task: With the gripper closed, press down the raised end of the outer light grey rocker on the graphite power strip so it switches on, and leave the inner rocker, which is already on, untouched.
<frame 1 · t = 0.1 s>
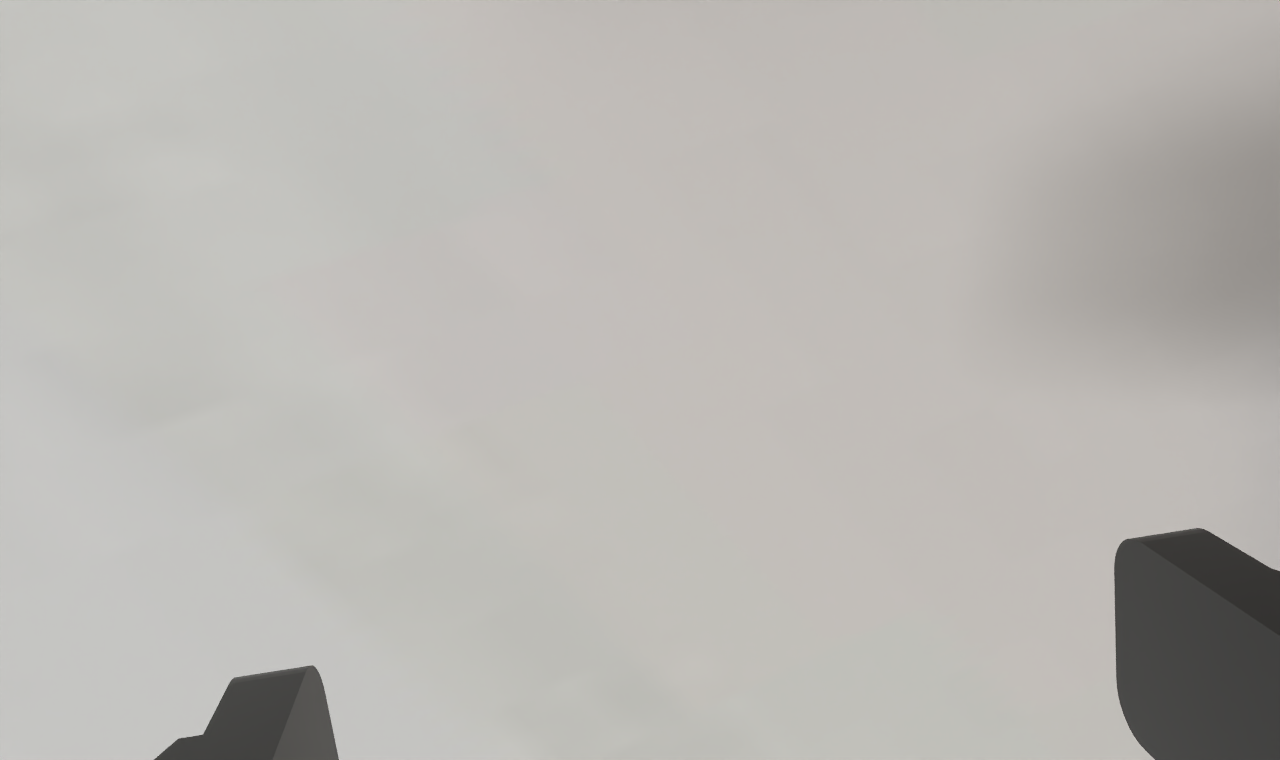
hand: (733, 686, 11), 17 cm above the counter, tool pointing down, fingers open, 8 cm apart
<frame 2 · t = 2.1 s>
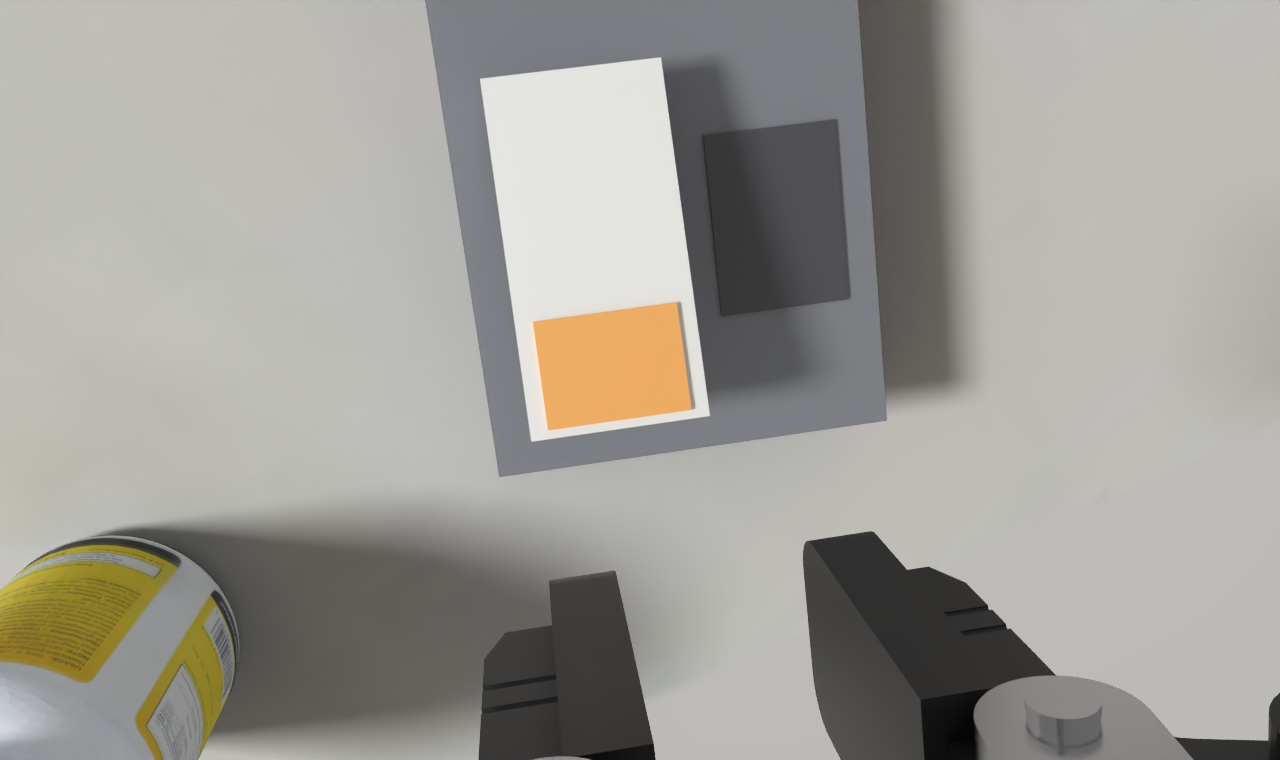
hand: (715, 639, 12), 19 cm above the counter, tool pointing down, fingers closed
pill bottle: (129, 634, 31), on the counter
rocker outer: (595, 251, 25), point 5 cm above the counter, hinge at -12.0°
power strip: (632, 8, 29), on the counter
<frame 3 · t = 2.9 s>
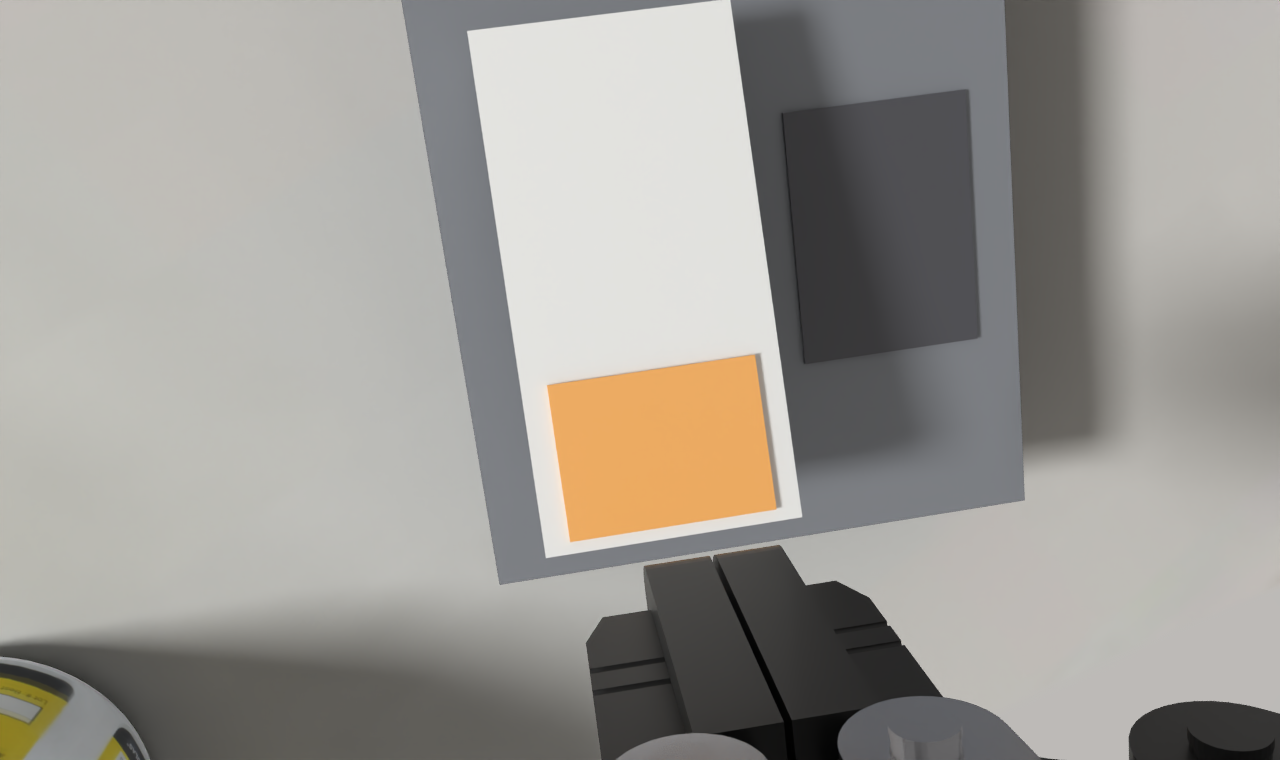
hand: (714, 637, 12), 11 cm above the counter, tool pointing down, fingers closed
rocker outer: (635, 280, 18), point 5 cm above the counter, hinge at -12.0°
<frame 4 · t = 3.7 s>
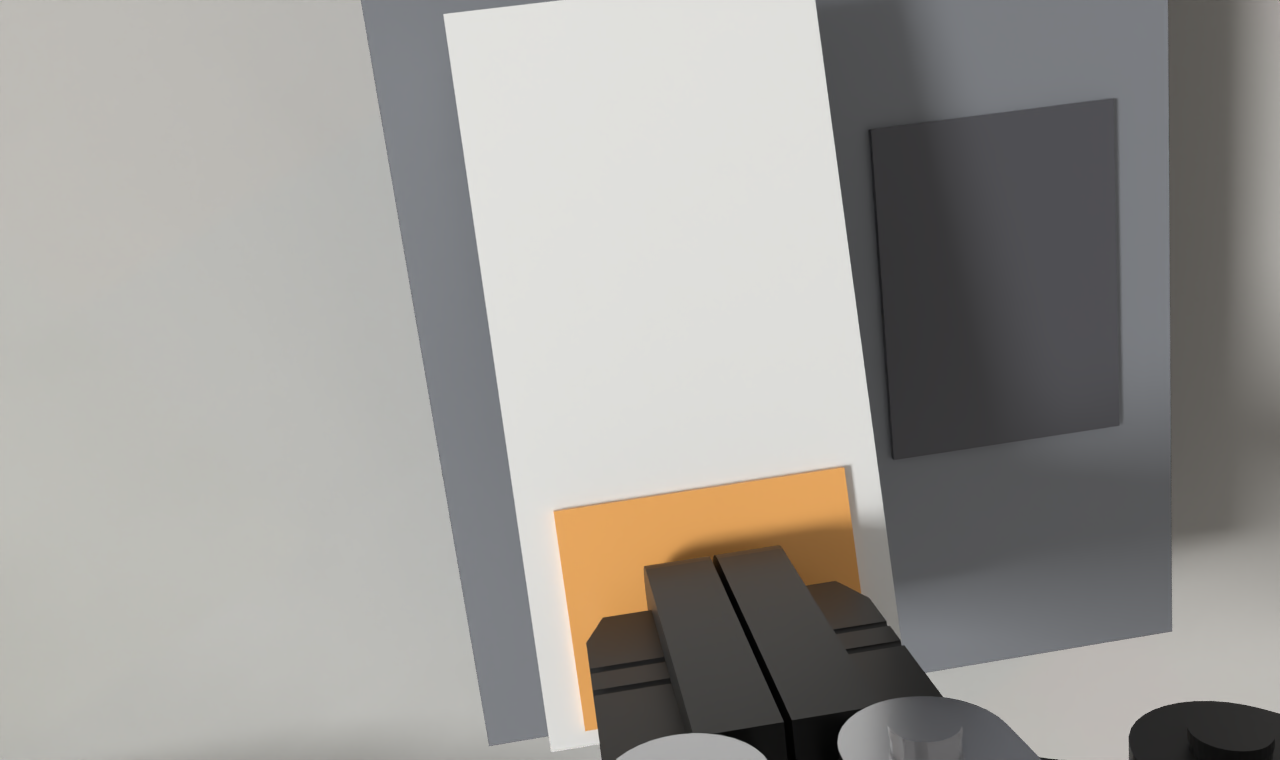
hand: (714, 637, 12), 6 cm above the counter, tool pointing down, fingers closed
rocker outer: (675, 360, 13), point 5 cm above the counter, hinge at -12.0°, touching gripper
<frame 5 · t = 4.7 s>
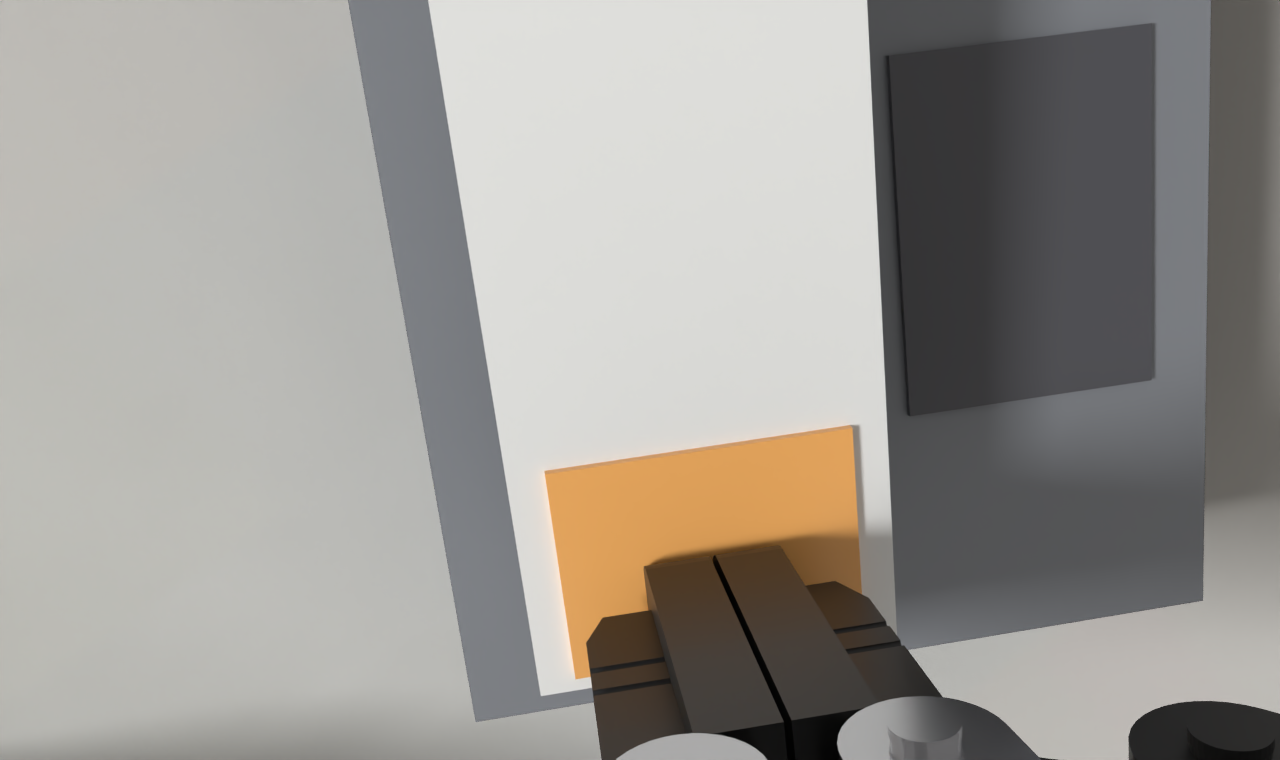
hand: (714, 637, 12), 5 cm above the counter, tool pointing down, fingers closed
rocker outer: (676, 304, 12), point 5 cm above the counter, hinge at 3.0°, touching gripper
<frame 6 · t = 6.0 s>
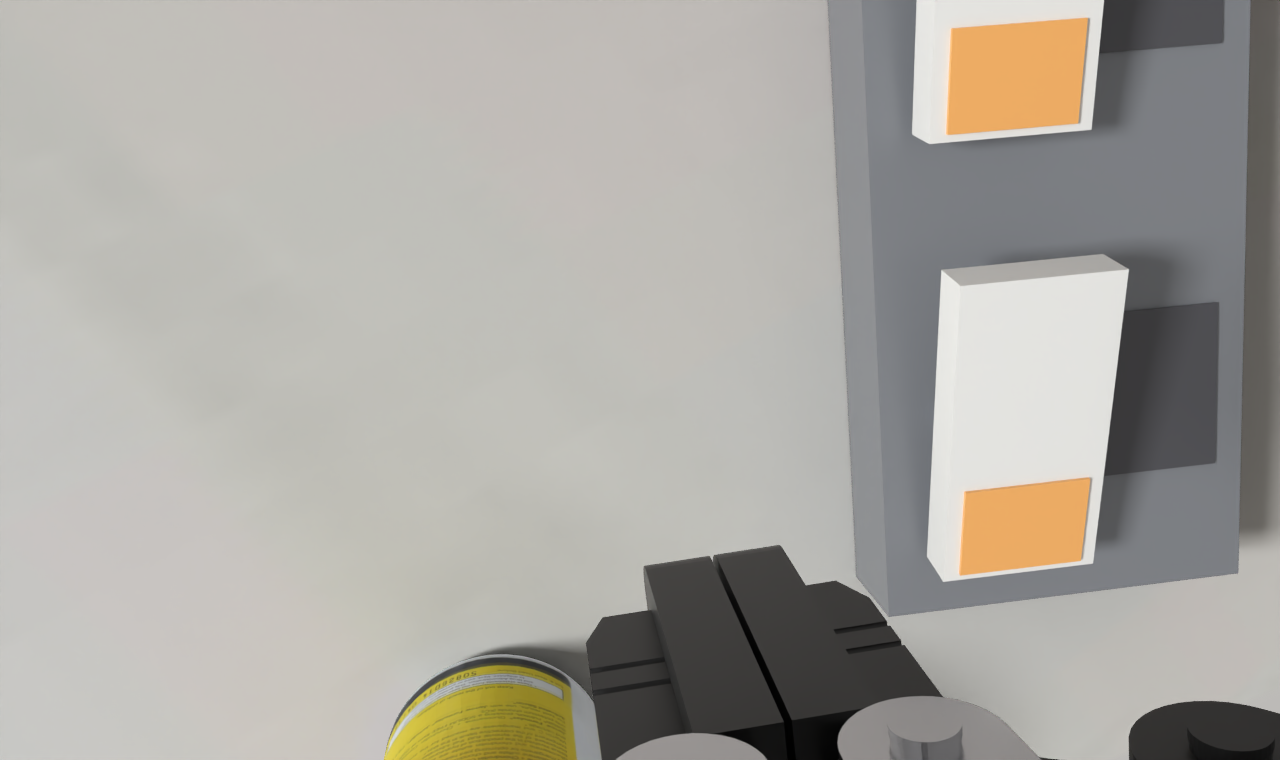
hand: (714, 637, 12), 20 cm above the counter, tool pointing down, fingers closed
pill bottle: (500, 744, 33), on the counter
rocker outer: (1021, 424, 28), point 5 cm above the counter, hinge at 12.6°
power strip: (1011, 187, 32), on the counter
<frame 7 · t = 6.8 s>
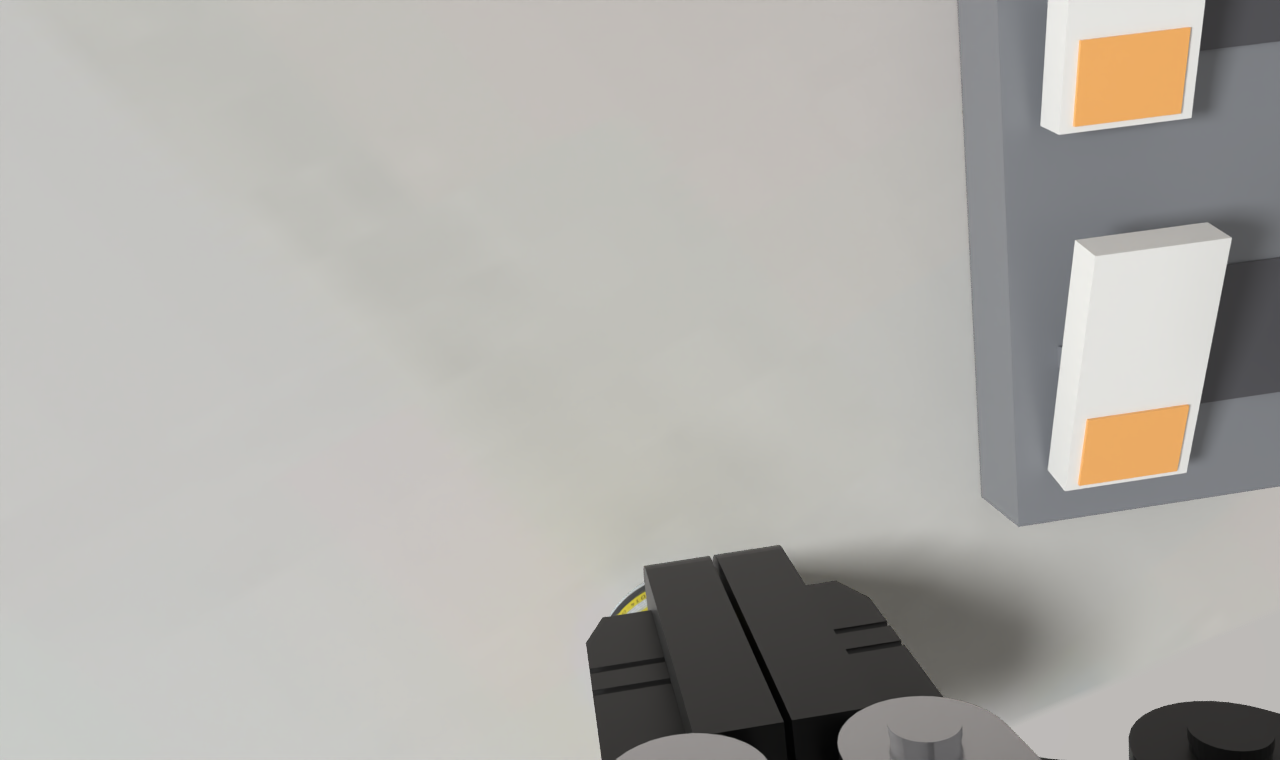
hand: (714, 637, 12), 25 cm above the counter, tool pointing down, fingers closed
pill bottle: (685, 646, 40), on the counter
rocker outer: (1134, 362, 34), point 5 cm above the counter, hinge at 16.3°
power strip: (1111, 163, 37), on the counter
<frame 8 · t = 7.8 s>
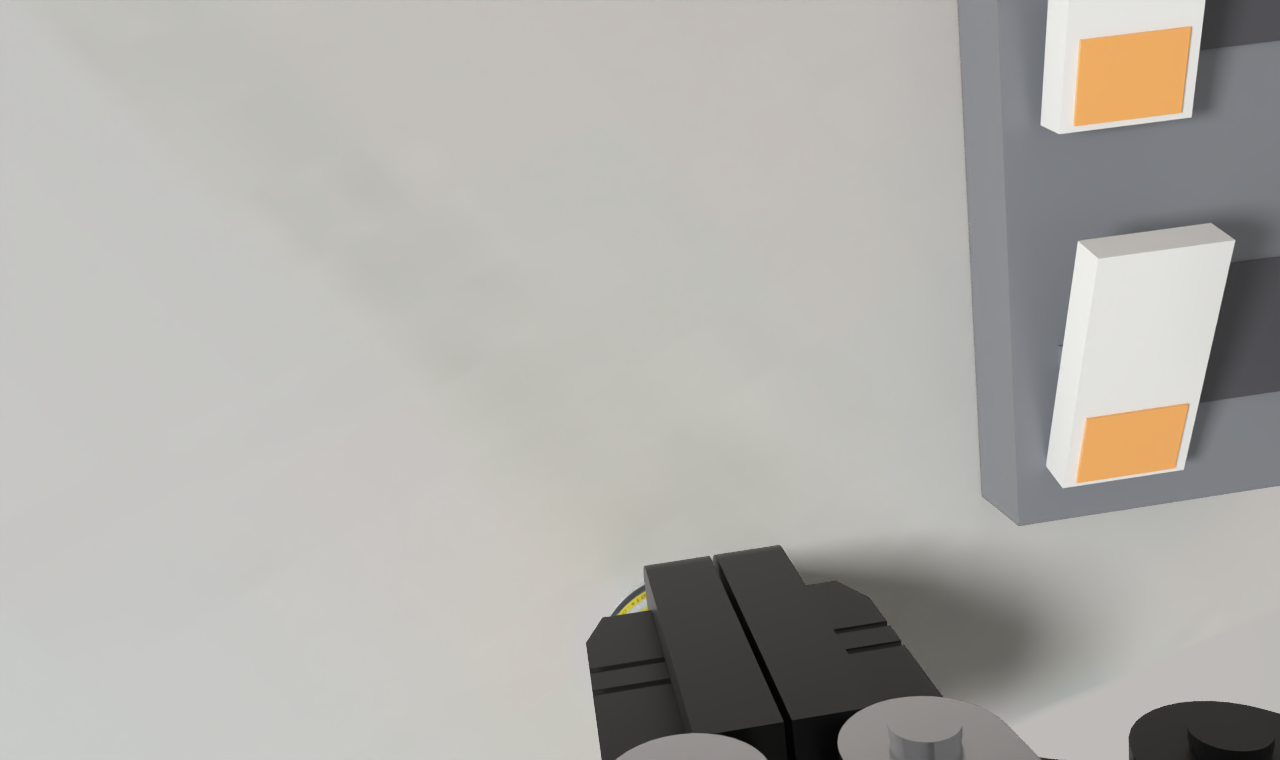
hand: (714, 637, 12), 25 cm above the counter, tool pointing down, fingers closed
pill bottle: (685, 645, 40), on the counter
rocker outer: (1134, 362, 34), point 5 cm above the counter, hinge at 18.6°, touching power strip
power strip: (1111, 162, 37), on the counter
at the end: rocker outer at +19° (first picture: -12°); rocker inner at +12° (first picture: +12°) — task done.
